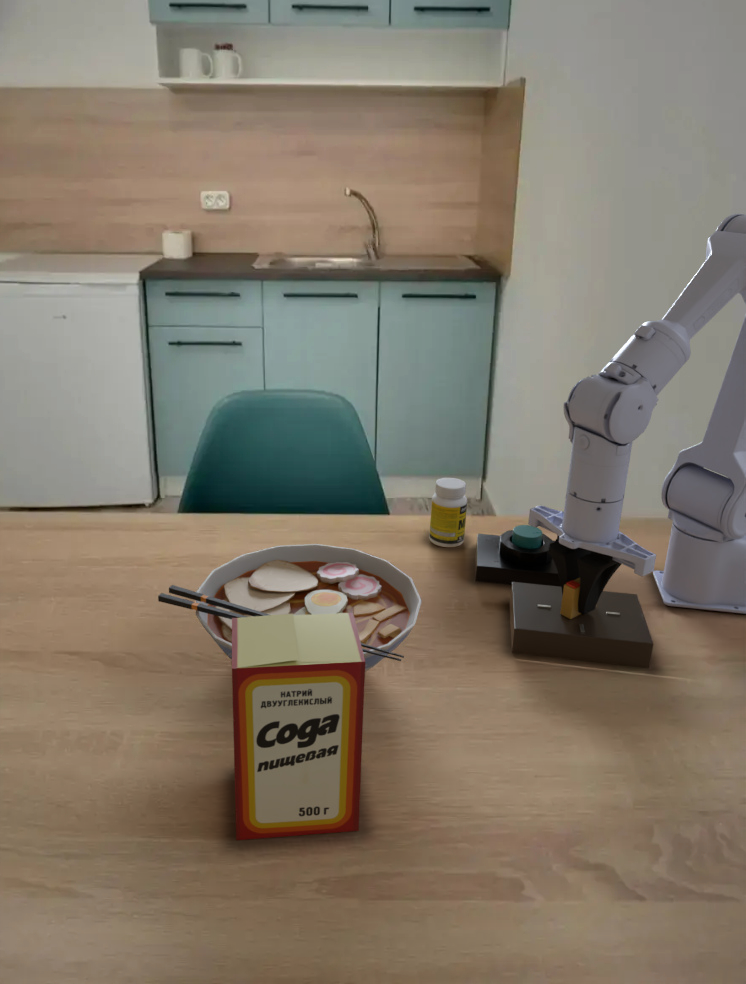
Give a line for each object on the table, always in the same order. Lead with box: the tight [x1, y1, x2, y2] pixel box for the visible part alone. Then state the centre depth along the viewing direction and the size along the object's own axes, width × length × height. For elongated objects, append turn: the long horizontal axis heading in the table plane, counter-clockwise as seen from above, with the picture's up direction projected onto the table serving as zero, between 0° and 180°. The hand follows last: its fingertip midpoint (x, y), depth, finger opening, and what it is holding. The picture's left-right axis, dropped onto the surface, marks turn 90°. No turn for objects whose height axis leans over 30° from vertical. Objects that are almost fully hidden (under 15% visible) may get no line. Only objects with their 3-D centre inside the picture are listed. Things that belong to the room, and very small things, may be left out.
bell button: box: [512, 524, 544, 549], centre depth 104 cm, size 4×4×2 cm
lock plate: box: [508, 582, 654, 669], centre depth 91 cm, size 14×10×3 cm
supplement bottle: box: [428, 477, 468, 548], centre depth 111 cm, size 5×5×8 cm
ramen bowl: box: [157, 543, 423, 673], centre depth 85 cm, size 25×23×8 cm
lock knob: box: [560, 578, 597, 619], centre depth 90 cm, size 4×1×4 cm, turn 127°
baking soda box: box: [231, 613, 366, 841], centre depth 64 cm, size 10×6×16 cm
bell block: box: [474, 529, 561, 587], centre depth 104 cm, size 12×9×4 cm
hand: (578, 606), depth 90 cm, fingers closed on lock knob
